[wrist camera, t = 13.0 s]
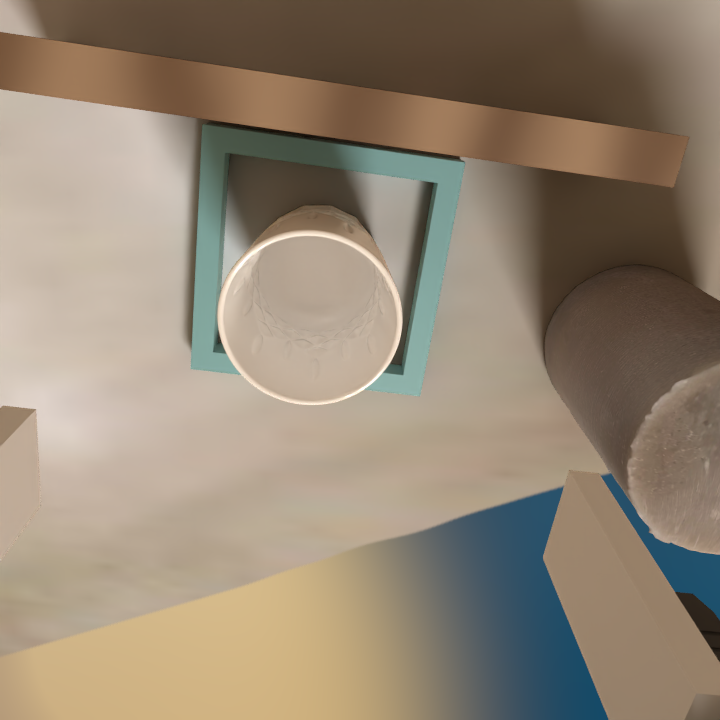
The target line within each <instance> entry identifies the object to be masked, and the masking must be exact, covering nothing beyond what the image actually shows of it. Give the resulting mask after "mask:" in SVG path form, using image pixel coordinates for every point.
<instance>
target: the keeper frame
mask: <svg viewBox="0 0 720 720" xmlns="http://www.w3.org/2000/svg"><path fill="white" fill-rule="evenodd" d="M230 153H231V154H238V155H245V156H252V157H259V158H266V159H273V160H280V161H287V162H294V163H301V164H308V165H315V166H322V167H329V168H336V169H343V170H350V171H357V172H364V173H371V174H378V175H385V176H392V177H399V178H406V179H413V180H420V181H427V182H434V185H433V190H432V196H431V202H430V207H429V213H428V219H427V224H426V230H425V235H424V241H423V247H422V252H421V258H420V263H419V269H418V275H417V280H416V286H415V291H414V297H413V303H412V308H411V314H410V319H409V325H408V331H407V336H406V342H405V347H404V353H403V359H402V364H401V365H395V364H389V365H388V367H387V368H386V369H385V371H384V372H383V373H382V374H381V375H380V376H379V377H378V378H377V379H376V380H375V381H374V382H373V383H372V384H371V385H369V386H368V387H367V388H365V389H364V390H372V391H380V392H388V393H397V394H405V395H413V396H420V394H421V389H422V384H423V378H424V373H425V368H426V363H427V358H428V353H429V347H430V342H431V337H432V332H433V327H434V322H435V316H436V311H437V306H438V301H439V296H440V291H441V285H442V280H443V275H444V270H445V265H446V260H447V255H448V249H449V244H450V239H451V234H452V229H453V224H454V218H455V213H456V208H457V203H458V198H459V193H460V187H461V182H462V177H463V172H464V167H465V162H464V161H462V160H461V159H454V158H447V157H440V156H433V155H426V154H420V153H413V152H406V151H399V150H392V149H385V148H378V147H372V146H365V145H358V144H351V143H344V142H337V141H330V140H323V139H317V138H310V137H303V136H296V135H289V134H282V133H275V132H269V131H262V130H255V129H248V128H241V127H234V126H227V125H221V124H214V123H205V124H202V142H201V163H200V184H199V205H198V226H197V247H196V268H195V290H194V311H193V332H192V353H191V369H196V370H204V371H212V372H221V373H229V374H238V375H241V374H240V373H239V372H238V370H237V369H236V368H235V366H234V365H233V364H232V362H231V361H230V359H229V357H228V355H227V354H226V351H225V349H224V347H223V344H222V343H218V320H217V311H218V302H219V297H220V293H221V281H222V265H223V249H224V233H225V218H226V202H227V186H228V170H229V154H230Z"/></svg>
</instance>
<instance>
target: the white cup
mask: <svg viewBox="0 0 720 720" xmlns="http://www.w3.org/2000/svg"><path fill="white" fill-rule="evenodd" d="M217 320H218V329H219V334H220V338H221V341H222V344H223V347H224V349H225V351H226V354H227V355H228V357H229V359H230V361H231V362H232V364H233V365H234V366H235V368H236V369H237V370H238V372H239V373H240V374H241V375H242V376H243V377H244V378H245V379H246V380H247V381H248V382H250V383H251V384H252V385H253V386H255V387H256V388H258V389H259V390H261V391H262V392H264V393H266V394H268V395H270V396H272V397H275V398H277V399H280V400H283V401H286V402H291V403H296V404H304V405H320V404H328V403H333V402H337V401H341V400H344V399H346V398H349V397H351V396H353V395H355V394H357V393H359V392H361V391H362V390H364V389H365V388H367V387H368V386H369V385H371V384H372V383H373V382H374V381H375V380H376V379H377V378H378V377H379V376H380V375H381V374H382V373H383V372H384V371H385V369H386V368H387V367H388V365H389V364H390V362H391V360H392V358H393V357H394V354H395V352H396V350H397V347H398V344H399V341H400V337H401V332H402V306H401V301H400V297H399V293H398V290H397V288H396V285H395V283H394V281H393V279H392V276H391V274H390V271H389V269H388V267H387V264H386V262H385V260H384V257H383V255H382V254H381V252H380V250H379V248H378V246H377V244H376V243H375V241H374V240H373V238H372V237H371V235H370V234H369V233H368V232H367V231H366V229H365V228H364V227H363V226H362V224H361V223H360V222H359V220H358V219H357V218H356V217H354V216H352V215H350V214H348V213H346V212H344V211H342V210H339V209H337V208H335V207H333V206H331V205H304V206H301V207H299V208H297V209H295V210H293V211H291V212H289V213H287V214H285V215H283V216H281V217H279V218H278V219H277V220H276V222H274V223H273V224H272V225H270V226H269V227H268V228H267V229H266V230H265V231H264V232H263V233H262V234H261V235H260V236H259V237H258V238H257V239H256V240H255V241H254V242H253V244H252V245H251V246H250V247H249V248H248V250H247V251H246V252H245V253H244V254H243V256H242V257H241V258H240V259H239V260H238V261H237V262H236V264H235V265H234V266H233V268H232V269H231V271H230V272H229V274H228V276H227V278H226V280H225V282H224V284H223V287H222V290H221V293H220V297H219V302H218V311H217Z"/></svg>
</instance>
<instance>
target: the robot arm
mask: <svg viewBox="0 0 720 720" xmlns="http://www.w3.org/2000/svg"><path fill="white" fill-rule="evenodd" d="M40 506H41V495H40V476H39V457H38V438H37V419H36V409H28V408H19V407H10V406H2V407H1V408H0V561H1V560H2V559H3V557H4V556H5V554H6V553H7V552H8V550H9V549H10V548H11V546H12V545H13V543H14V542H15V541H16V539H17V538H18V537H19V535H20V534H21V532H22V531H23V530H24V528H25V527H26V526H27V524H28V523H29V522H30V520H31V519H32V517H33V516H34V515H35V513H36V512H37V511H38V509H39V508H40ZM543 560H544V562H545V565H546V567H547V569H548V572H549V574H550V577H551V579H552V582H553V584H554V587H555V589H556V591H557V594H558V596H559V599H560V601H561V603H562V606H563V608H564V611H565V613H566V616H567V618H568V621H569V623H570V626H571V628H572V631H573V633H574V635H575V638H576V640H577V643H578V645H579V648H580V650H581V653H582V655H583V658H584V660H585V662H586V665H587V667H588V670H589V672H590V675H591V677H592V680H593V682H594V684H595V687H596V689H597V692H598V694H599V697H600V699H601V702H602V704H603V706H604V709H605V711H606V714H607V716H608V719H609V720H720V620H719V619H718V618H717V616H716V615H715V614H714V612H713V611H712V610H711V609H709V608H708V607H707V606H706V605H704V603H702V602H701V601H700V600H699V599H698V598H697V597H696V596H694V595H693V594H689V593H680V592H674V590H673V589H672V587H671V586H670V584H669V582H668V581H667V579H666V578H665V576H664V575H663V573H662V572H661V570H660V568H659V567H658V565H657V564H656V562H655V561H654V559H653V558H652V556H651V554H650V553H649V551H648V550H647V548H646V547H645V545H644V543H643V542H642V540H641V539H640V537H639V536H638V534H637V532H636V531H635V529H634V528H633V526H632V525H631V523H630V522H629V520H628V518H627V517H626V515H625V514H624V512H623V511H622V509H621V507H620V506H619V505H618V503H617V501H616V500H615V498H614V497H613V495H612V493H611V492H610V490H609V489H608V487H607V486H606V484H605V482H604V481H603V479H602V478H601V476H600V475H599V473H591V472H582V471H573V470H569V473H568V476H567V479H566V483H565V486H564V489H563V493H562V496H561V499H560V502H559V506H558V509H557V513H556V516H555V519H554V522H553V526H552V529H551V533H550V536H549V539H548V542H547V546H546V549H545V552H544V556H543Z"/></svg>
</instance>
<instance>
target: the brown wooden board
mask: <svg viewBox="0 0 720 720" xmlns="http://www.w3.org/2000/svg"><path fill="white" fill-rule="evenodd" d="M0 89H3V90H9V91H16V92H23V93H30V94H37V95H44V96H51V97H57V98H64V99H71V100H78V101H85V102H92V103H98V104H105V105H112V106H119V107H126V108H133V109H140V110H146V111H153V112H160V113H167V114H174V115H181V116H187V117H194V118H201V119H208V120H215V121H222V122H229V123H235V124H242V125H249V126H256V127H263V128H270V129H276V130H283V131H290V132H297V133H304V134H311V135H318V136H324V137H331V138H338V139H345V140H352V141H359V142H365V143H372V144H379V145H386V146H393V147H400V148H407V149H413V150H420V151H427V152H434V153H441V154H448V155H454V156H461V157H468V158H475V159H482V160H489V161H496V162H502V163H509V164H516V165H523V166H530V167H537V168H543V169H550V170H557V171H564V172H571V173H578V174H585V175H591V176H598V177H605V178H612V179H619V180H626V181H632V182H639V183H646V184H653V185H660V186H667V187H674V185H675V181H676V178H677V175H678V172H679V169H680V165H681V162H682V159H683V156H684V153H685V150H686V146H687V143H688V140H689V137H687V136H680V135H674V134H667V133H661V132H654V131H648V130H641V129H635V128H629V127H622V126H616V125H609V124H603V123H596V122H589V121H583V120H576V119H570V118H563V117H557V116H550V115H543V114H537V113H530V112H524V111H517V110H510V109H504V108H497V107H491V106H484V105H478V104H471V103H464V102H458V101H451V100H445V99H438V98H432V97H425V96H418V95H412V94H405V93H399V92H392V91H385V90H379V89H372V88H366V87H359V86H353V85H346V84H339V83H333V82H326V81H320V80H313V79H307V78H300V77H293V76H287V75H280V74H274V73H267V72H261V71H254V70H247V69H241V68H234V67H228V66H221V65H214V64H208V63H201V62H195V61H188V60H182V59H175V58H168V57H162V56H155V55H149V54H142V53H136V52H129V51H122V50H116V49H109V48H103V47H96V46H89V45H83V44H76V43H70V42H63V41H56V40H50V39H43V38H36V37H30V36H23V35H16V34H10V33H3V32H0Z"/></svg>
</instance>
